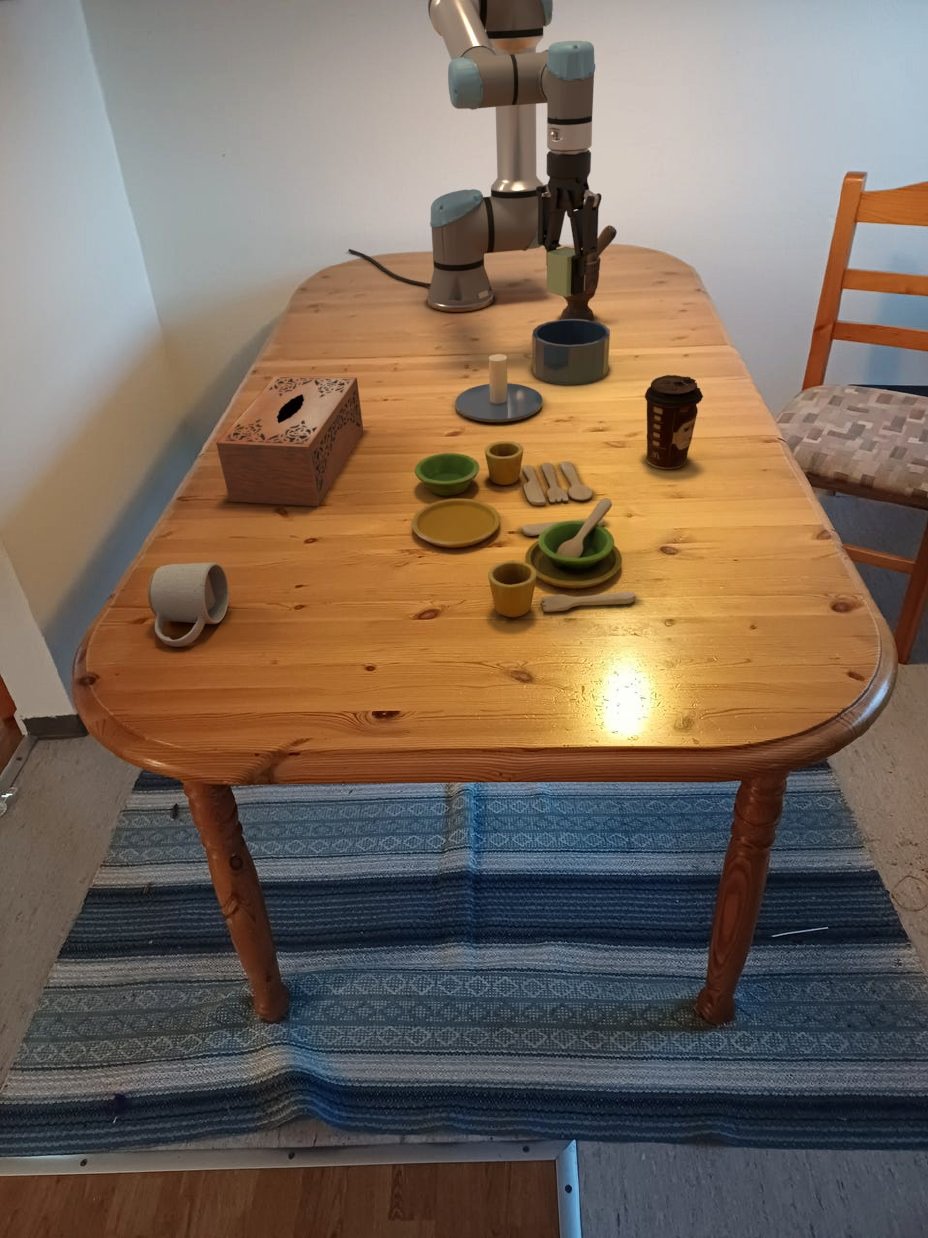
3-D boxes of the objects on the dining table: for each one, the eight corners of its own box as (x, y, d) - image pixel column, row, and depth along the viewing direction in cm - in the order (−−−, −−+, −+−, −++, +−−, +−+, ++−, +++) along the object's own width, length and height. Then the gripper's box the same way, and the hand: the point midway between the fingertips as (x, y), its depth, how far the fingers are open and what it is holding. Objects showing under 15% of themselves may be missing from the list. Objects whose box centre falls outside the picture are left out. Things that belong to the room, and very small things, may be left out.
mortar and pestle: (611, 312, 200) (616, 217, 188) (611, 326, 193) (617, 228, 181) (558, 313, 201) (560, 218, 189) (558, 326, 194) (559, 229, 182)
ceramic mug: (175, 597, 119) (160, 549, 115) (234, 599, 118) (221, 551, 114) (143, 649, 111) (126, 600, 106) (207, 651, 110) (192, 602, 105)
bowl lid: (437, 407, 164) (434, 358, 158) (500, 381, 172) (499, 334, 166) (497, 433, 154) (495, 382, 149) (560, 405, 162) (561, 355, 157)
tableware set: (644, 610, 113) (648, 568, 109) (424, 633, 111) (420, 591, 107) (576, 459, 145) (577, 423, 141) (405, 475, 144) (402, 439, 140)
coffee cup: (698, 452, 145) (707, 375, 138) (691, 475, 139) (700, 397, 131) (644, 446, 148) (650, 370, 140) (635, 469, 142) (641, 391, 134)
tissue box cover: (318, 506, 137) (308, 446, 131) (229, 501, 140) (216, 442, 133) (363, 431, 157) (356, 377, 151) (285, 428, 160) (275, 374, 153)
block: (546, 291, 166) (546, 252, 162) (565, 285, 169) (566, 246, 164) (566, 297, 163) (567, 257, 159) (584, 290, 166) (586, 251, 161)
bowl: (516, 371, 176) (516, 333, 171) (568, 350, 183) (569, 313, 179) (571, 391, 167) (572, 352, 162) (623, 368, 174) (626, 330, 170)
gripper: (515, 147, 155) (517, 284, 169) (593, 159, 144) (588, 305, 158) (546, 140, 159) (545, 275, 173) (624, 151, 148) (616, 294, 162)
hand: (565, 289), depth 166 cm, fingers closed on block, 5 cm apart
